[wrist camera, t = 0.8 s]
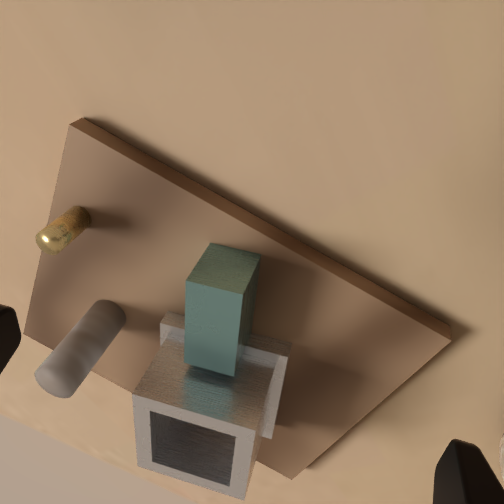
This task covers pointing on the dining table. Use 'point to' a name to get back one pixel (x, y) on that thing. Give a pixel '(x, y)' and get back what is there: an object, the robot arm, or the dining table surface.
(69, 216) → the dowel pin
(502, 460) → the carving
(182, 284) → the post board
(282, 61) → the dining table surface
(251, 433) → the grey piece
